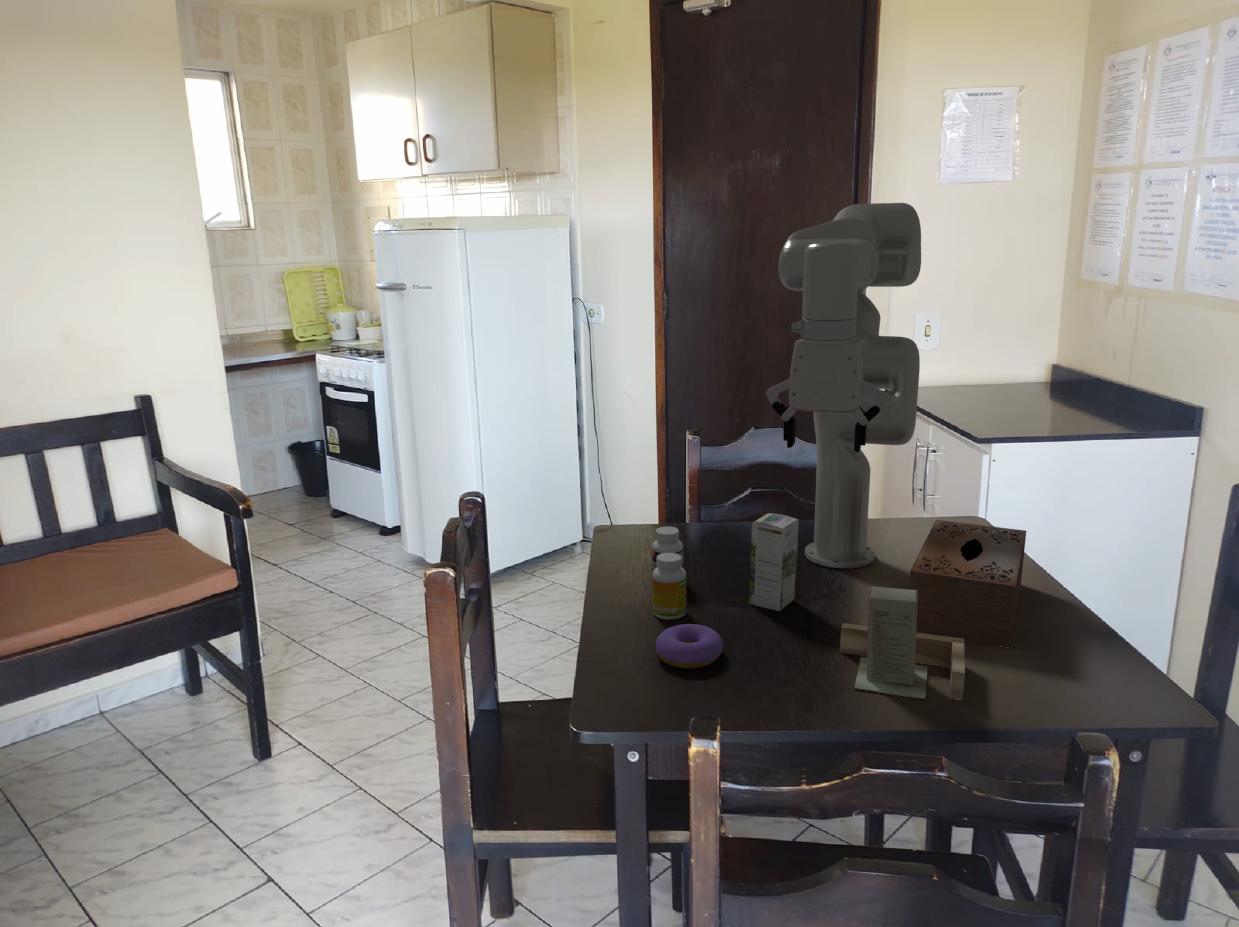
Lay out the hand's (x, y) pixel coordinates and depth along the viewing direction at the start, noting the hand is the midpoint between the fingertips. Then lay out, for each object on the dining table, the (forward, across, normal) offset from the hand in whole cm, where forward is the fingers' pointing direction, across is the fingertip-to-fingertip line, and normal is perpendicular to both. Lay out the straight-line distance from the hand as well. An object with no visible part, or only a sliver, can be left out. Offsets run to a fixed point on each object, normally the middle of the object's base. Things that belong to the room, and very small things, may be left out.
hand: (823, 447), depth 129 cm
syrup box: (+28, -8, +6) cm, 30 cm away
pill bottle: (+28, -27, +9) cm, 40 cm away
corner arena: (+28, +13, -13) cm, 34 cm away
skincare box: (+28, +12, -14) cm, 34 cm away
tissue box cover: (+29, +22, +14) cm, 39 cm away
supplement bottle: (+28, -23, -3) cm, 37 cm away
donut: (+29, -16, -16) cm, 37 cm away
